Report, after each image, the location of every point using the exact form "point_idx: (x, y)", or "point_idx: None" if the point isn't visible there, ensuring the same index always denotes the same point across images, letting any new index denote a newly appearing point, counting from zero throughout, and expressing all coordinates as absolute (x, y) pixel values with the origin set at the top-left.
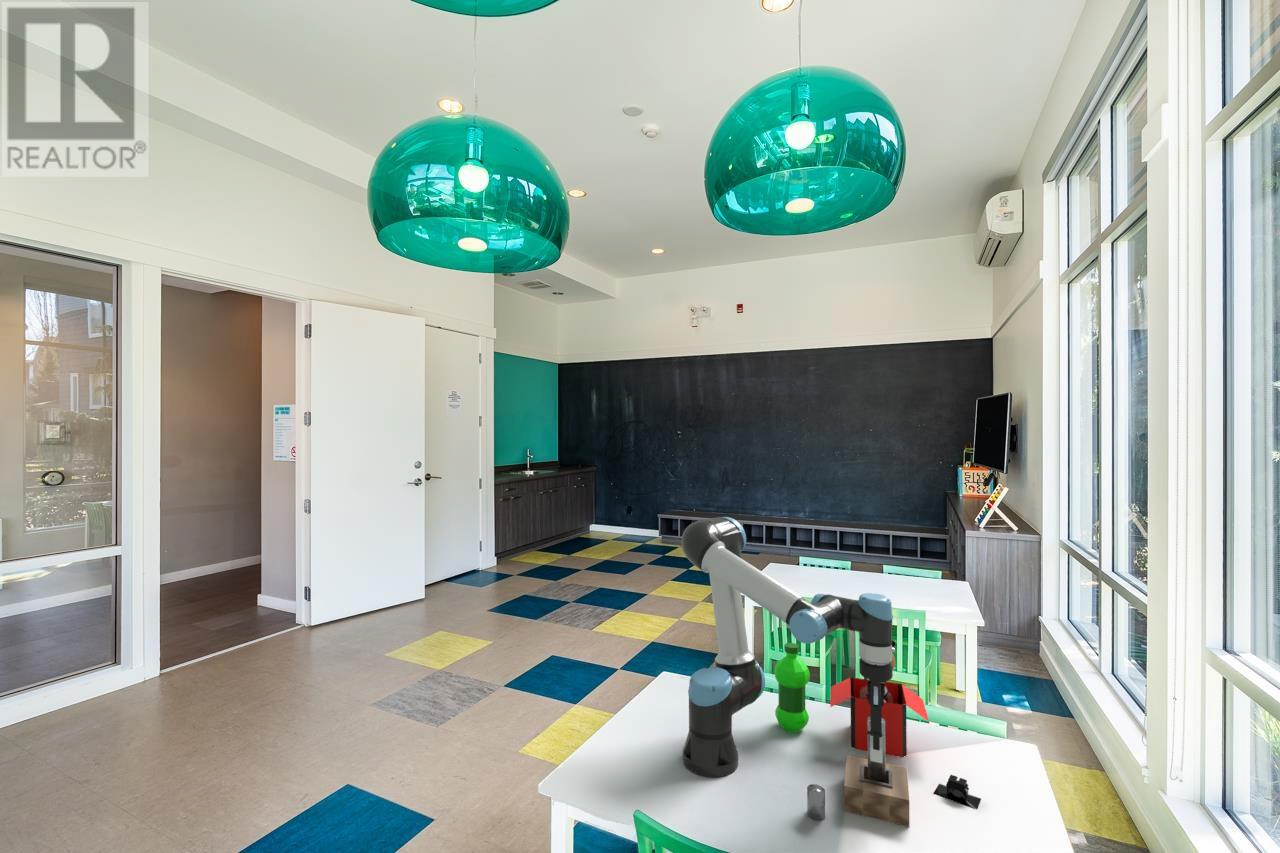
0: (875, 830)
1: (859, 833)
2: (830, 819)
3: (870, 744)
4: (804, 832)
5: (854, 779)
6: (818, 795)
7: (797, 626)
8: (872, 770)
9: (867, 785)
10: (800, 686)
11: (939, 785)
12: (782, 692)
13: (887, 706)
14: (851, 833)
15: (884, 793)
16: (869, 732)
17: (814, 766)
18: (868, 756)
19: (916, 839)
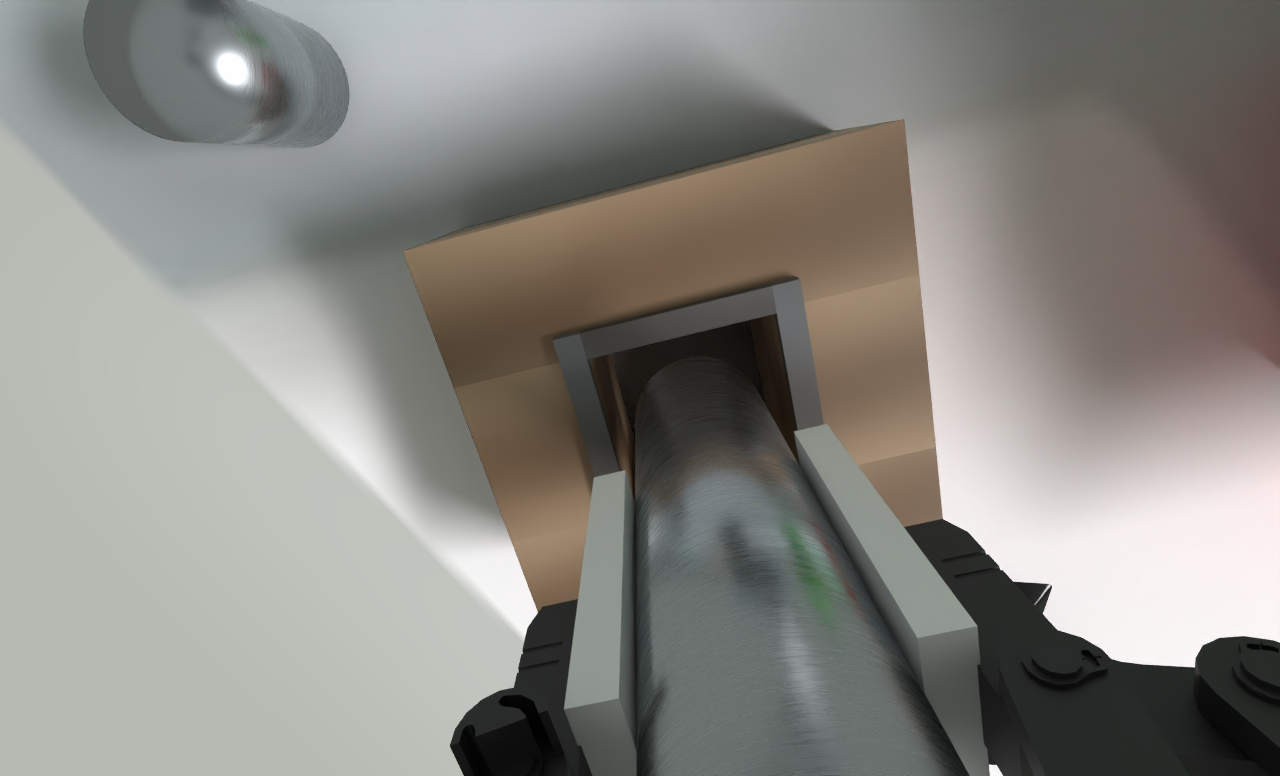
0: (419, 421)
1: (331, 361)
2: (322, 182)
3: (580, 587)
4: (75, 84)
5: (547, 294)
6: (121, 106)
7: None
8: (637, 437)
9: (535, 397)
10: None
11: (1031, 589)
12: None
13: None
14: (297, 326)
15: (516, 513)
16: (466, 770)
17: None
18: (665, 442)
19: (493, 582)
